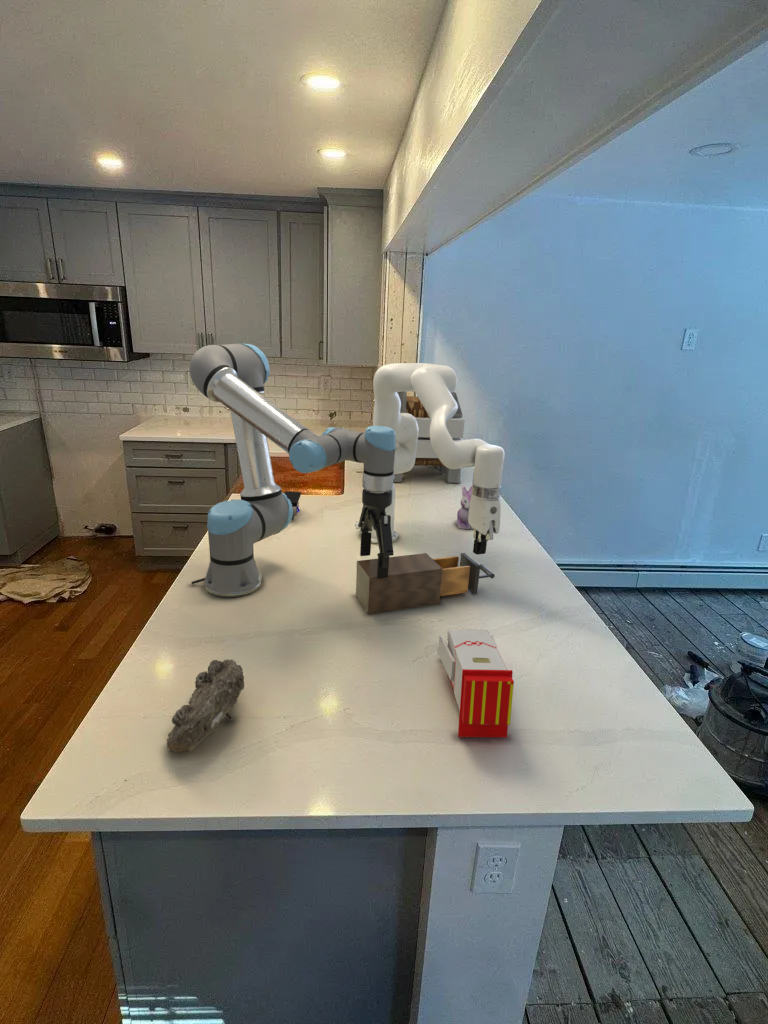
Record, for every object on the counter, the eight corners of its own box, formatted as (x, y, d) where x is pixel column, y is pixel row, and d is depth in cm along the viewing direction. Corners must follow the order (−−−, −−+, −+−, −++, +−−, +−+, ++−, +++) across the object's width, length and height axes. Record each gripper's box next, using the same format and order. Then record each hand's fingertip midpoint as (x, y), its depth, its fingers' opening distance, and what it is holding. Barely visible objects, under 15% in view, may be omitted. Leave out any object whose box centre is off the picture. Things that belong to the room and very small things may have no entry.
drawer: (479, 577, 168) (482, 550, 165) (495, 591, 160) (499, 563, 157) (401, 587, 159) (402, 559, 157) (414, 603, 151) (416, 574, 148)
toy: (488, 613, 130) (523, 677, 101) (484, 667, 133) (517, 744, 104) (435, 612, 130) (455, 676, 101) (432, 666, 133) (451, 743, 103)
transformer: (382, 463, 289) (386, 382, 275) (445, 464, 293) (451, 384, 279) (390, 482, 257) (394, 392, 243) (460, 483, 261) (468, 394, 247)
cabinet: (423, 586, 163) (426, 552, 159) (439, 603, 154) (442, 568, 150) (355, 595, 156) (356, 560, 152) (367, 614, 147) (369, 577, 143)
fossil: (192, 660, 117) (244, 628, 112) (224, 691, 120) (276, 661, 115) (142, 746, 98) (202, 712, 93) (182, 779, 101) (242, 748, 96)
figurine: (464, 531, 204) (468, 492, 199) (448, 522, 212) (452, 484, 207) (485, 528, 208) (490, 489, 203) (469, 519, 217) (473, 481, 212)
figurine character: (297, 525, 206) (302, 507, 220) (296, 507, 203) (301, 489, 216) (278, 525, 206) (284, 507, 220) (278, 506, 203) (284, 489, 216)
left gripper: (410, 504, 132) (404, 585, 139) (375, 474, 154) (371, 545, 161) (380, 506, 129) (375, 589, 137) (348, 475, 151) (346, 548, 158)
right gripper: (513, 498, 148) (504, 562, 154) (484, 482, 161) (477, 541, 167) (487, 500, 145) (480, 565, 151) (460, 483, 158) (455, 544, 165)
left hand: (373, 566), depth 149 cm, fingers open, 13 cm apart
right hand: (479, 553), depth 159 cm, fingers closed
